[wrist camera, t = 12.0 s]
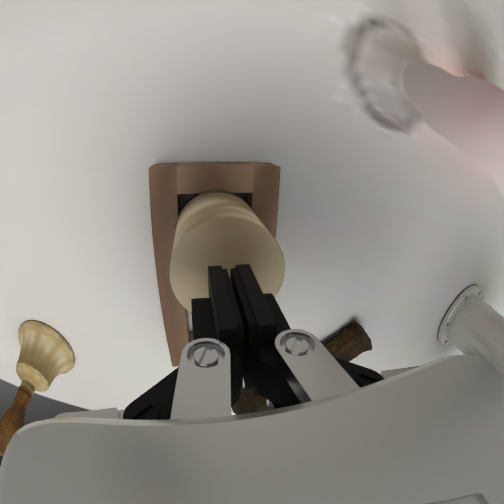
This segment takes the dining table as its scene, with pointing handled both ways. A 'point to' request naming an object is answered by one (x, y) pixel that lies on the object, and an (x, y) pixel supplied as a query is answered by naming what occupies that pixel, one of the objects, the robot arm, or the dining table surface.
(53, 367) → the hand bell
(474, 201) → the dining table surface
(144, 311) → the dining table surface
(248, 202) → the walnut board
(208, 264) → the oak peg
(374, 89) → the dining table surface
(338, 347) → the hand tool
